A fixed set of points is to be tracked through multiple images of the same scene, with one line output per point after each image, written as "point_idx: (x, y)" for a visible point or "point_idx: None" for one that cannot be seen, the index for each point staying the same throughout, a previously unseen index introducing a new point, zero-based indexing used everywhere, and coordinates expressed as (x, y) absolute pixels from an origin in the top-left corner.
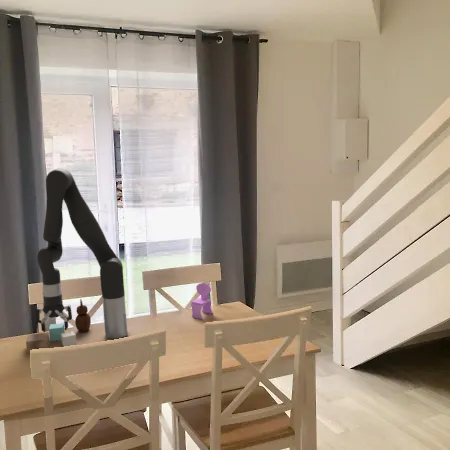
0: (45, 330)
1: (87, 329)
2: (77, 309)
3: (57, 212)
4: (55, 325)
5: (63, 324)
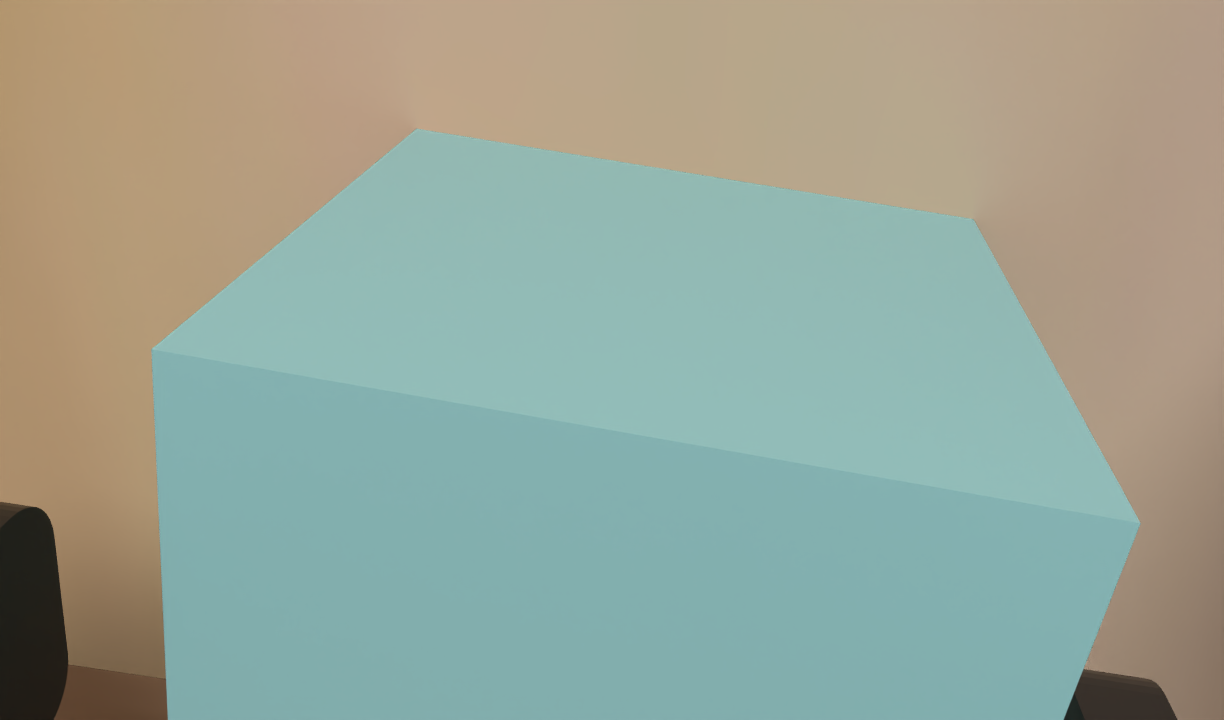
0: (34, 581)
1: None
2: None
3: None
4: (518, 690)
5: (1058, 704)
